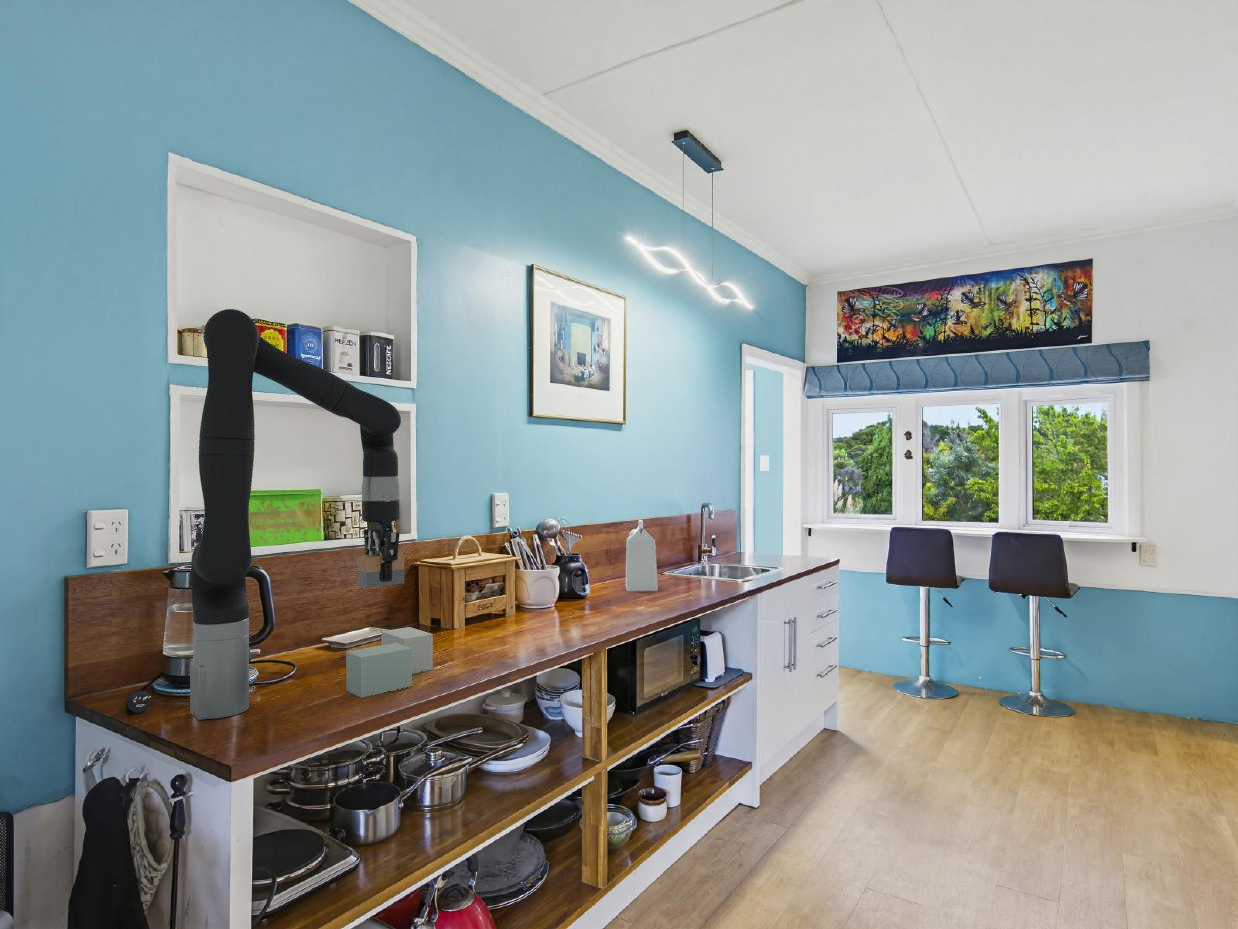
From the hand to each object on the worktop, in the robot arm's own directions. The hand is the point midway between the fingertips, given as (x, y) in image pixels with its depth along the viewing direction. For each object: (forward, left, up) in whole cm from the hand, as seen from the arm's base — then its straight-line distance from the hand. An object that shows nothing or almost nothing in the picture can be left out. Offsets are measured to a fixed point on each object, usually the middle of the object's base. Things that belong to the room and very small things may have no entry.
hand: (381, 579), depth 155 cm
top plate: (0, 0, +2) cm, 2 cm away
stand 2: (+11, +10, -22) cm, 27 cm away
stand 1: (-1, -1, -22) cm, 23 cm away
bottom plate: (0, 0, -1) cm, 1 cm away
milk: (+130, +52, -23) cm, 142 cm away
